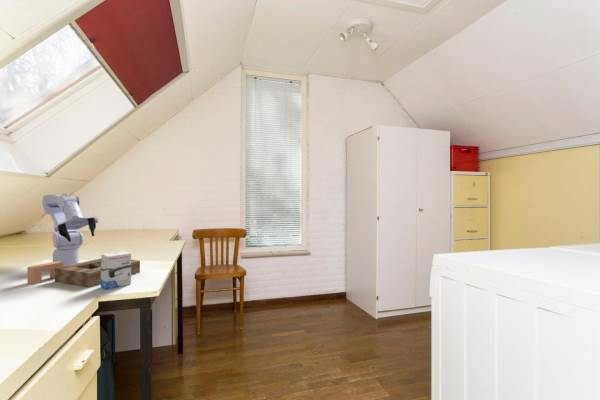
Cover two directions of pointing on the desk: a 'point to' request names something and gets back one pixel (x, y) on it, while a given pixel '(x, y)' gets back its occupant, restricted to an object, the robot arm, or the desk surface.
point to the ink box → (115, 269)
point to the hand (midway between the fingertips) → (81, 236)
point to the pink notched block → (36, 270)
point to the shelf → (86, 273)
